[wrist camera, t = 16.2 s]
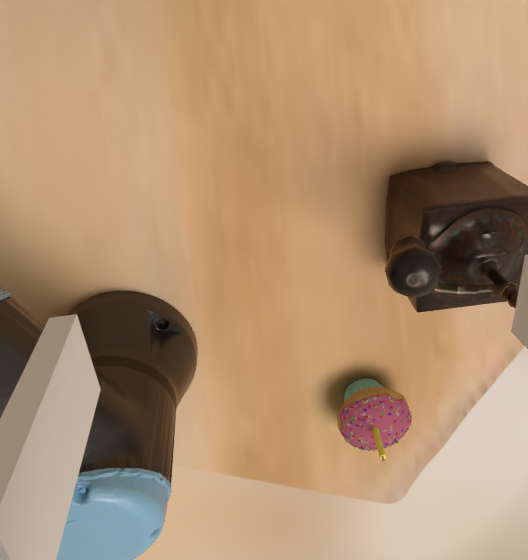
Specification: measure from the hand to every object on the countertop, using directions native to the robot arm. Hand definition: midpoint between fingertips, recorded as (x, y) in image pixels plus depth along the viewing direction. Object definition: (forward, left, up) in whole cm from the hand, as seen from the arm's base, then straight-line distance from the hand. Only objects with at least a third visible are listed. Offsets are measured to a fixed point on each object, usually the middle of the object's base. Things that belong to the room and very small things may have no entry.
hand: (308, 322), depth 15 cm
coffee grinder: (+16, -12, -34) cm, 40 cm away
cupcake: (+12, -35, -34) cm, 50 cm away
